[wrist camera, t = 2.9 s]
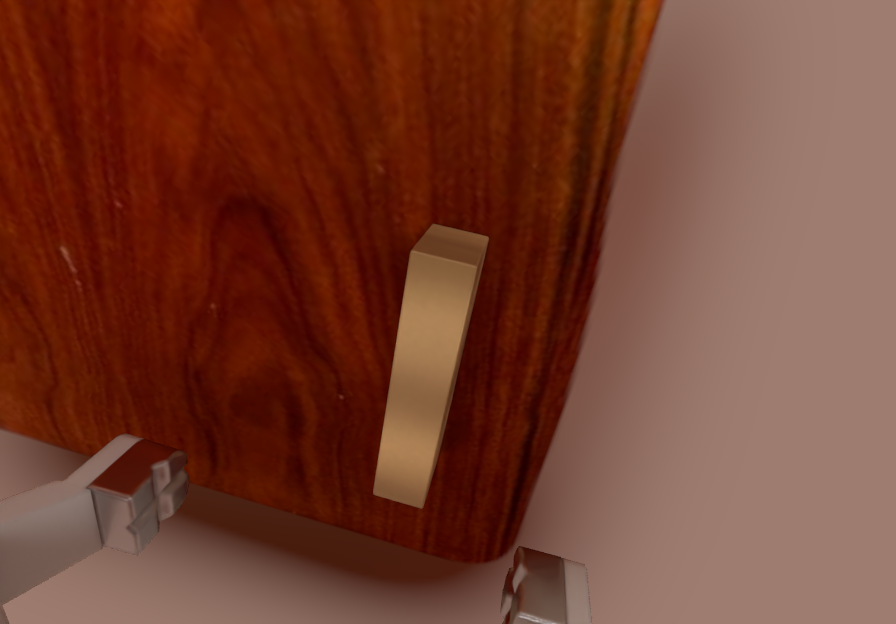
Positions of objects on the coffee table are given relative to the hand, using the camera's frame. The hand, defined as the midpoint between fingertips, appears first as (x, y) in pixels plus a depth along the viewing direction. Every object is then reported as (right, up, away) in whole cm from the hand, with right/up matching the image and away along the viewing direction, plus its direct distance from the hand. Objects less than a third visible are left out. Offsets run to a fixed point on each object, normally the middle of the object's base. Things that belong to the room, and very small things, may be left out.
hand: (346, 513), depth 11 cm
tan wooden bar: (+2, +3, +7) cm, 8 cm away
